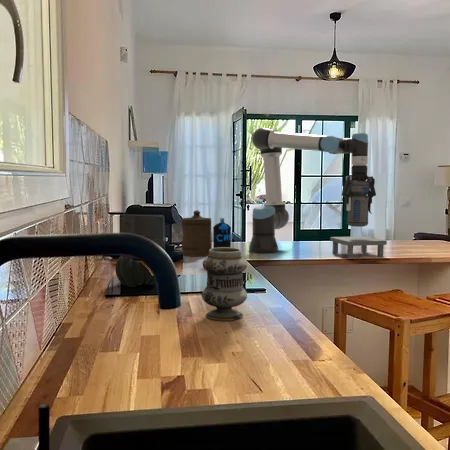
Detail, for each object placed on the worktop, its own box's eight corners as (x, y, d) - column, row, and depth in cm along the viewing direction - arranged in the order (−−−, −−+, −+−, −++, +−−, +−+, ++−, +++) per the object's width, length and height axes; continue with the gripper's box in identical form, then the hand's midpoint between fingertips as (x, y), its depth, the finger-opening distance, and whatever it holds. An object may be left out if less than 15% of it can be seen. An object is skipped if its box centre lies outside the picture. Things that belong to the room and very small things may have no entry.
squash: (163, 273, 160) (157, 236, 168) (117, 277, 156) (113, 239, 164) (159, 294, 171) (154, 259, 179) (116, 298, 167) (113, 262, 175)
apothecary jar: (226, 325, 120) (226, 253, 118) (192, 316, 128) (192, 249, 126) (256, 315, 129) (256, 248, 127) (222, 307, 137) (223, 245, 135)
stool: (348, 258, 228) (348, 241, 228) (330, 252, 248) (330, 237, 247) (386, 257, 233) (386, 240, 232) (365, 251, 252) (365, 236, 251)
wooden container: (194, 251, 251) (194, 209, 249) (217, 254, 243) (217, 210, 241) (175, 255, 239) (175, 210, 237) (199, 257, 230) (199, 211, 229)
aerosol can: (210, 261, 218) (210, 217, 216) (226, 260, 221) (226, 217, 220) (217, 264, 211) (217, 218, 209) (234, 263, 214) (234, 218, 212)
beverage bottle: (372, 227, 232) (374, 175, 230) (344, 226, 237) (345, 175, 235) (373, 225, 241) (375, 175, 239) (346, 224, 246) (348, 175, 244)
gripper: (341, 164, 230) (340, 211, 232) (384, 165, 235) (383, 210, 237) (334, 165, 238) (333, 210, 240) (376, 165, 243) (375, 209, 244)
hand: (358, 210), depth 238 cm, fingers closed on beverage bottle, 10 cm apart
